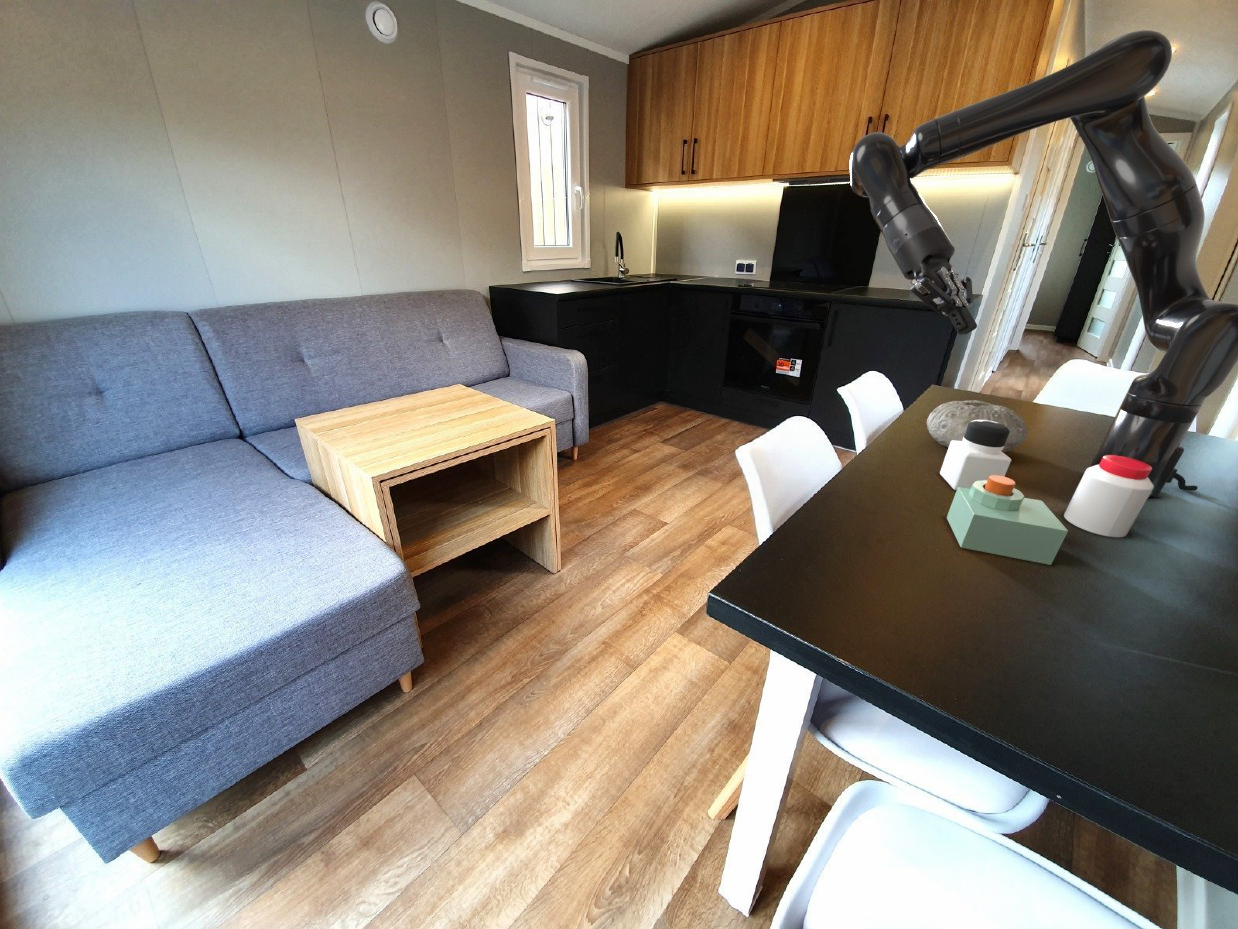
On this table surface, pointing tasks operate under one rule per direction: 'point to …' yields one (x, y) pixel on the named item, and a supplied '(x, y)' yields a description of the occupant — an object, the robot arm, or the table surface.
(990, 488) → the orange push button
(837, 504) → the table surface
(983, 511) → the button base
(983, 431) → the medicine bottle
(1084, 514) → the pill bottle
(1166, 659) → the table surface
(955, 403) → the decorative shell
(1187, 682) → the table surface
